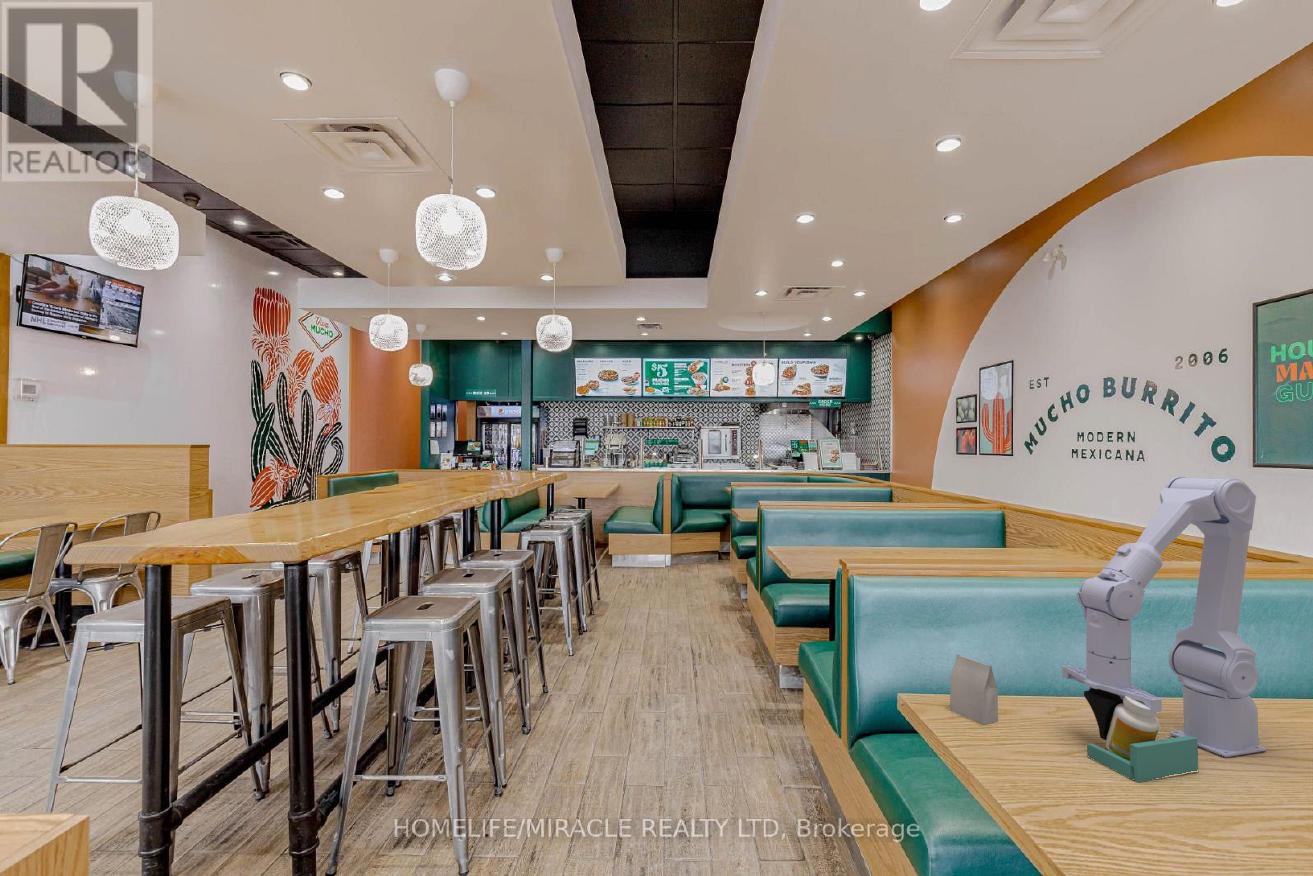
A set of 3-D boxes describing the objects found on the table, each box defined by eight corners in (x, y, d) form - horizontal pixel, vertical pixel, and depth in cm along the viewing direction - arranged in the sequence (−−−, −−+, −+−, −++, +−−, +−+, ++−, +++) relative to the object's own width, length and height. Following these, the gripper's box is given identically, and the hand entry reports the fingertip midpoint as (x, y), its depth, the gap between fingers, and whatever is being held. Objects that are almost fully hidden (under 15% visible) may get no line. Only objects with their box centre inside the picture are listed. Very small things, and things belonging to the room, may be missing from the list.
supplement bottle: (1155, 771, 87) (1171, 717, 85) (1112, 761, 89) (1127, 707, 86) (1139, 746, 92) (1154, 694, 90) (1099, 737, 94) (1113, 685, 91)
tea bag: (984, 725, 101) (983, 667, 102) (950, 710, 107) (949, 655, 108) (997, 721, 103) (997, 665, 103) (963, 706, 109) (963, 653, 109)
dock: (1144, 748, 94) (1144, 717, 94) (1198, 772, 86) (1197, 738, 87) (1087, 756, 91) (1086, 724, 91) (1137, 782, 83) (1137, 747, 83)
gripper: (1048, 640, 100) (1047, 720, 99) (1136, 671, 85) (1136, 764, 85) (1080, 639, 101) (1079, 717, 101) (1172, 668, 87) (1172, 760, 87)
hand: (1108, 738), depth 93 cm, fingers closed, pressing on supplement bottle
